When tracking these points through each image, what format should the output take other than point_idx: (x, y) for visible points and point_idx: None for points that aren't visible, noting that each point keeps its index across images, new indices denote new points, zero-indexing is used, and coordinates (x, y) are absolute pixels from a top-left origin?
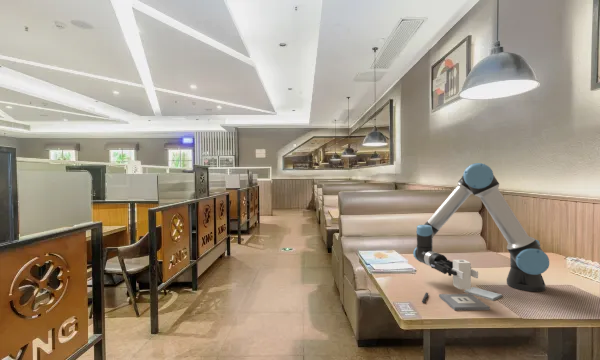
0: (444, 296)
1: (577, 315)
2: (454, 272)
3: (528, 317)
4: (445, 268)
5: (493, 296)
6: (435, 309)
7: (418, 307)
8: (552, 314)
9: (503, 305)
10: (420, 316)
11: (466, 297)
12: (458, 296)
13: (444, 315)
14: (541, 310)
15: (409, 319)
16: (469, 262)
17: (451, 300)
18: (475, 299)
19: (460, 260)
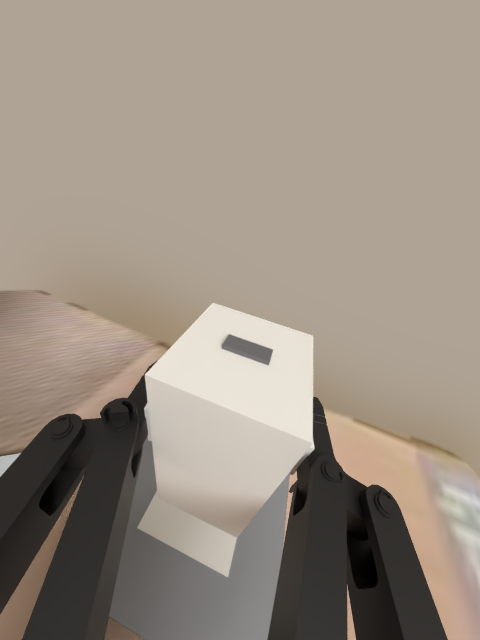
0: (257, 615)
1: (32, 302)
2: (316, 402)
3: (140, 338)
4: (379, 487)
5: (1, 467)
6: None
7: (431, 549)
8: (68, 323)
9: (87, 403)
10: (420, 461)
11: (156, 512)
12: (173, 563)
13: (340, 433)
14: (51, 339)
15: (455, 458)
16: (212, 309)
17: (259, 518)
18: (140, 471)
19: (232, 371)
